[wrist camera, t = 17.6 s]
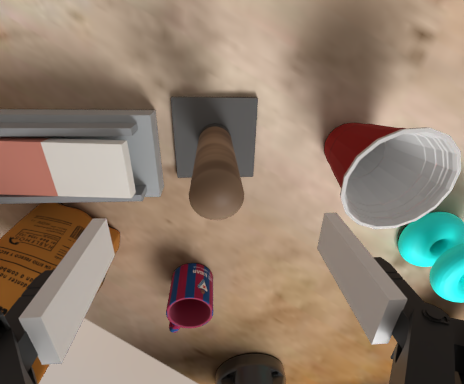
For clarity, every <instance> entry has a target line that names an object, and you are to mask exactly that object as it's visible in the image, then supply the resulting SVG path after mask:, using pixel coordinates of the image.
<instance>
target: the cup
mask: <svg viewBox="0 0 464 384" xmlns="http://www.w3.org/2000/svg"><path fill="white" fill-rule="evenodd" d="M166 315H167V318H168V320H169V321H170V324H169V329H170V331H171V332H173V333H176V332H177V331H178V330H179V329H180V327H182V328H196V327H200V326H203V325H204V324H206V323H208V322H209V321H210V320H211V318H212V316H213V275H212V273H211V271H210V270H209V269H208V268H207V267H205V266H203V265H201V264H197V263H188V264H184V265H182V266H180V267H178V268H177V269H176V270H175V271H174V273H173V276H172V281H171V287H170V293H169V299H168V304H167V310H166Z"/></svg>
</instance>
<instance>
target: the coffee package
mask: <svg viewBox="0 0 464 384" xmlns="http://www.w3.org/2000/svg"><path fill="white" fill-rule="evenodd" d="M91 220H92V218H91V217H90V216H89V215H88V214H87V213H85V212H83V211H82V210H79V209H76V208H72V207H66V206H63V205H61V204H58V203H41V204H39V205H38V206H37V207H36V208H35V209H33V210H32V211H31V212H30V213H29V214H27V215H26V216H25V217H24V218H23V219H22V220H20V221H19V222H18V223H17V224H16V225H15V226H14V227H13V228H12V229H10V230H9V231H8V232H7V233H6V234H5V235H4V236H3V237H2V238H1V239H0V311H1V312H2V313H3V314H4V316H5V315H6V313H7V312H8V311H9V310H10V308H11V307H12V306H13V305H14V303H15V302H16V301H17V300H18V298H19V297H21V295H22V293H23V292H24V291H25V290H26V289H27V287H28V286H29V285H30V284H31V282H32V281H33V280H34V279H35V278H36V277H37V276H39V275H40V274H41V273H43V272H44V271H45V270H55V269H56V267H57V266H58V265H59V263H60V262H61V261H62V259H63V258H64V257H65V255H66V254H67V253H68V251H69V250H70V249H71V247H72V246H73V244H74V243H75V242H76V240H77V239H78V238H79V236H80V235H81V234H82V232H83V231H84V230H85V228H86V227H87V226H88V224H89V223H90V222H91ZM109 232H110V236H111V240H112V244H113V249H114V253H116V252H117V250H118V248H119V242H120V232H118V231H117V230H116V229H112V228H110V227H109ZM110 265H111V264H110ZM106 274H107V273H106ZM105 276H106V275H105ZM104 279H105V277H104ZM104 279H103V281H104ZM103 281H102V283H101V285H100V287H101V286H102V284H103ZM100 287H99V289H100ZM99 289H98V291H99ZM98 291H97V292H98ZM96 294H97V293H96ZM48 366H49V364H46V365H42V364H41V362H40V360H39V358H38V356H37V358H36V359H35V361H34V363H33V365H32V368H33V370H34V372H35V376H36V379H37V383H39V382H40V380H41V378H42V377H43V374H44V373H45V372H46V369H47V368H48Z"/></svg>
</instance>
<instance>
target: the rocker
mask: <svg viewBox="0 0 464 384" xmlns="http://www.w3.org/2000/svg"><path fill="white" fill-rule="evenodd" d="M135 193H136V190H135V184H134V178H133V172H132V166H131V161H130V155H129V149H128V143H127V140H95V139H58V138H21V137H0V194H4V195H36V196H69V197H101V198H132V197H133V196H134V194H135Z"/></svg>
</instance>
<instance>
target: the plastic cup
mask: <svg viewBox="0 0 464 384" xmlns="http://www.w3.org/2000/svg"><path fill="white" fill-rule="evenodd" d="M324 151H325V155H326V158H327V161H328V163H329V164H330V166H331V169H332V171H333V173H334V175H335V177H336V179H337V181H338V183H339V185H340V187H341V193H340V197H341V200H342V203H343V207H344V210H345V213H346V214H347V215H348V216H349V217H350V218H351V219H352V220H354V221H355V222H356V223H357V224H359V225H362V226H366V227H369V228H373V229H385V228H396V227H399V226H402V225H405V224H408V223H411V222H414V221H417V220H418V219H420V218H421V217H423V216H424V215H426V214H427V213H429V212H430V211H432V210H433V209H435V208H436V207H437V206H438V205H439V204H440V203H441V202H442V201H443V200H444V199H445V198H446V196H447V195H448V194H449V193H450V192H451V191H452V189H453V187H454V185H455V183H456V181H457V178H458V176H459V174H460V172H461V151H460V149H459V148H458V146H457V145H456V143H455V142H454V141H453V139H452V138H451V136H450V135H447V134H445V133H442V132H440V131H437V130H435V129H432V128H426V127H425V128H410V129H405V128H394V127H387V126H380V125H374V124H361V123H347V124H343V125H341V126H339V127H337V128H335V129H334V130H333V131H332V132H331V133H330V134H329V136H328V138H327V139H326V141H325V147H324Z"/></svg>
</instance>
